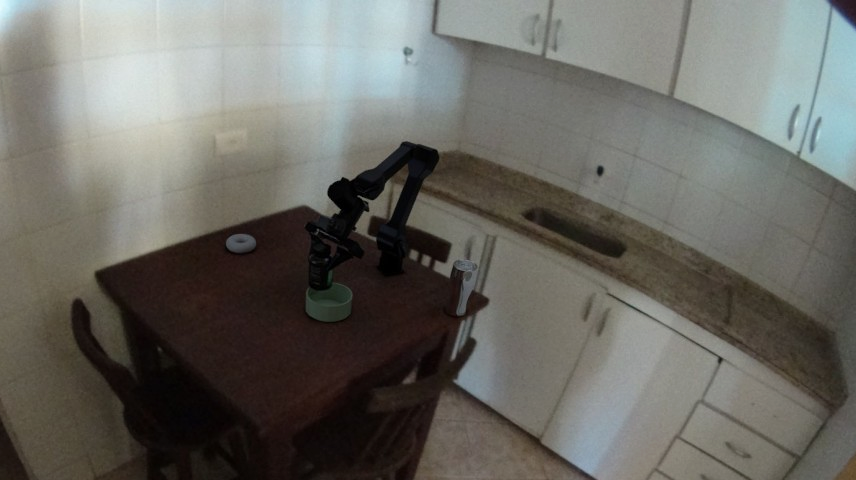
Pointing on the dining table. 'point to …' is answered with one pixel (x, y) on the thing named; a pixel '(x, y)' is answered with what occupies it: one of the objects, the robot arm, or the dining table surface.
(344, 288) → the green round bowl
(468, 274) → the beer glass
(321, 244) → the supplement bottle
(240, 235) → the donut
